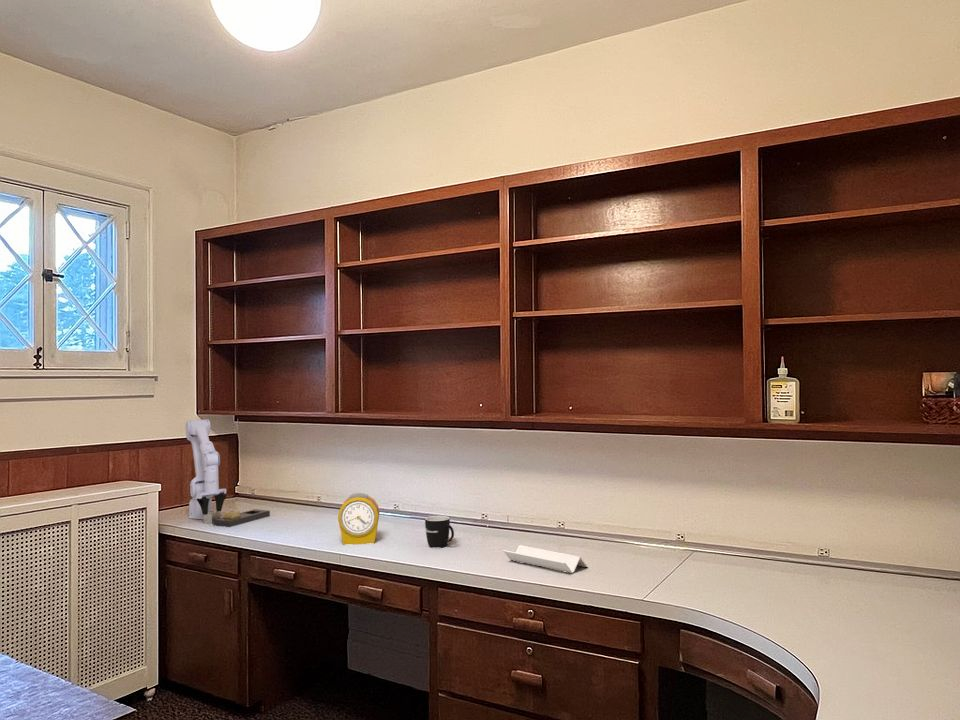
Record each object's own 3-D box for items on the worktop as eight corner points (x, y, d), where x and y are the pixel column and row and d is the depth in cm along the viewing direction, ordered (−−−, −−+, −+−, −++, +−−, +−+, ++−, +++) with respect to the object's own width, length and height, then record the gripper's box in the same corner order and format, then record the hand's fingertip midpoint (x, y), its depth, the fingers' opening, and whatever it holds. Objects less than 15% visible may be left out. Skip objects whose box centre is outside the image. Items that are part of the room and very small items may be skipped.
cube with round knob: (204, 523, 315) (204, 512, 315) (212, 521, 319) (212, 510, 319) (211, 524, 313) (211, 512, 313) (220, 522, 317) (219, 510, 317)
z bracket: (519, 571, 250) (527, 555, 253) (580, 584, 233) (588, 567, 236) (502, 550, 243) (511, 535, 247) (564, 563, 226) (572, 546, 230)
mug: (420, 546, 267) (419, 519, 267) (436, 541, 274) (436, 514, 275) (445, 551, 260) (445, 522, 260) (461, 546, 267) (461, 518, 267)
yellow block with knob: (224, 524, 314) (223, 512, 314) (232, 522, 318) (231, 510, 318) (231, 525, 311) (231, 513, 312) (239, 522, 315) (239, 511, 316)
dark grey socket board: (213, 525, 311) (213, 519, 311) (254, 514, 333) (254, 509, 333) (229, 527, 307) (228, 521, 307) (269, 516, 328) (269, 510, 328)
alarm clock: (338, 545, 272) (337, 495, 272) (340, 540, 280) (339, 492, 280) (378, 543, 273) (377, 494, 273) (380, 538, 281) (379, 490, 281)
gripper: (204, 484, 308) (205, 516, 307) (231, 479, 320) (231, 510, 320) (192, 483, 311) (193, 515, 311) (219, 478, 324) (219, 509, 323)
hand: (212, 512), depth 316 cm, fingers open, 7 cm apart
